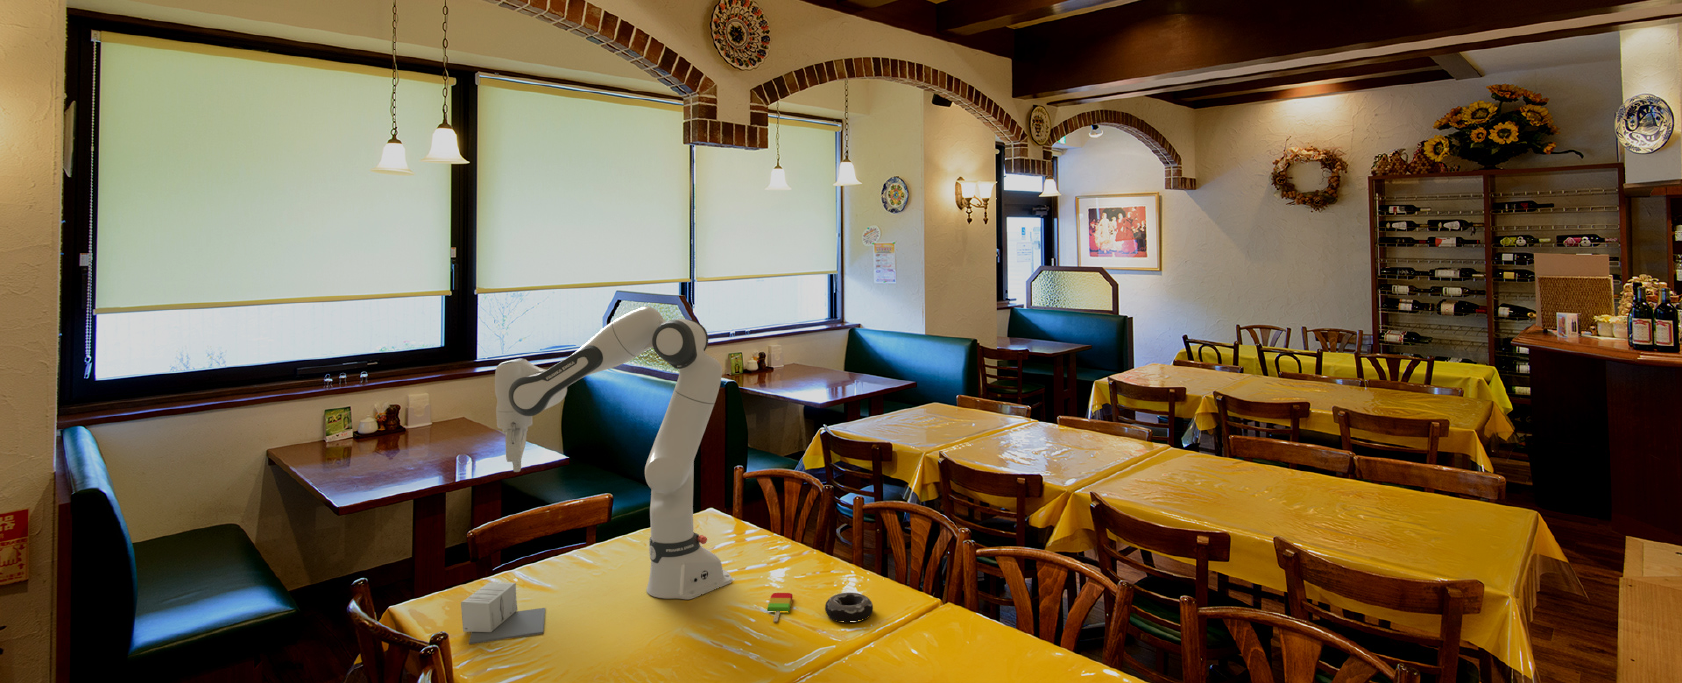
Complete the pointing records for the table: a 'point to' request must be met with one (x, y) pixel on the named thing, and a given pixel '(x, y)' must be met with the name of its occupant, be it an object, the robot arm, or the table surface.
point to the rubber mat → (514, 627)
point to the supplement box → (489, 607)
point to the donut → (848, 607)
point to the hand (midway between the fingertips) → (517, 470)
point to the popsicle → (779, 603)
